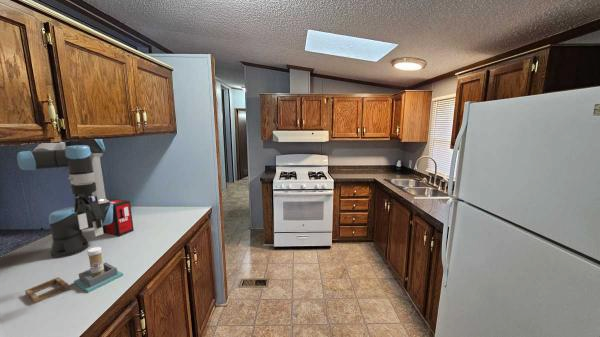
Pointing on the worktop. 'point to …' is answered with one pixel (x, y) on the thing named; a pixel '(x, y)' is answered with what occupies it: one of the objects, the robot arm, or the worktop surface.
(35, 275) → the worktop surface
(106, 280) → the plate
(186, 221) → the worktop surface
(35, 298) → the stand collar
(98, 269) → the sprinkles bottle
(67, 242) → the robot arm
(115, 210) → the cleaning product box
